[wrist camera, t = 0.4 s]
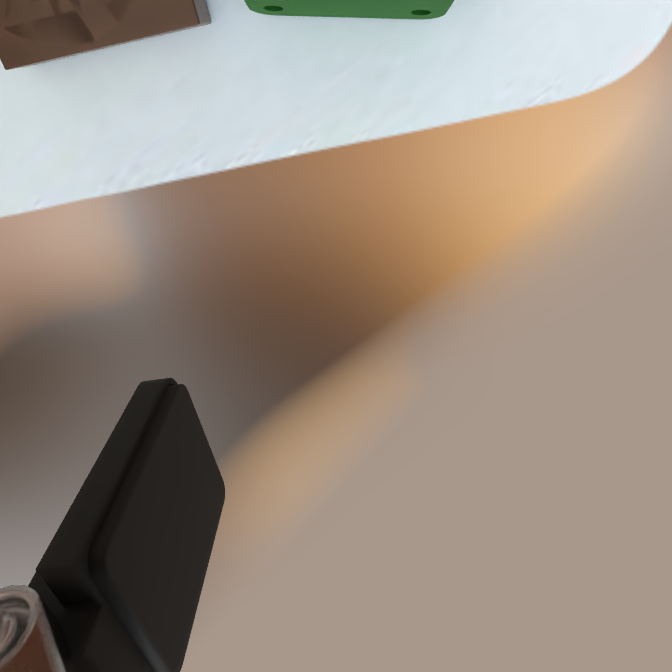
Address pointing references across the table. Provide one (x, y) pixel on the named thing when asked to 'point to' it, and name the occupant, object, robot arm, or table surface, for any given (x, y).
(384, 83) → the table surface
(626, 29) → the table surface
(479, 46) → the table surface
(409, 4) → the clamp
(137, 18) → the pad
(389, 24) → the table surface
